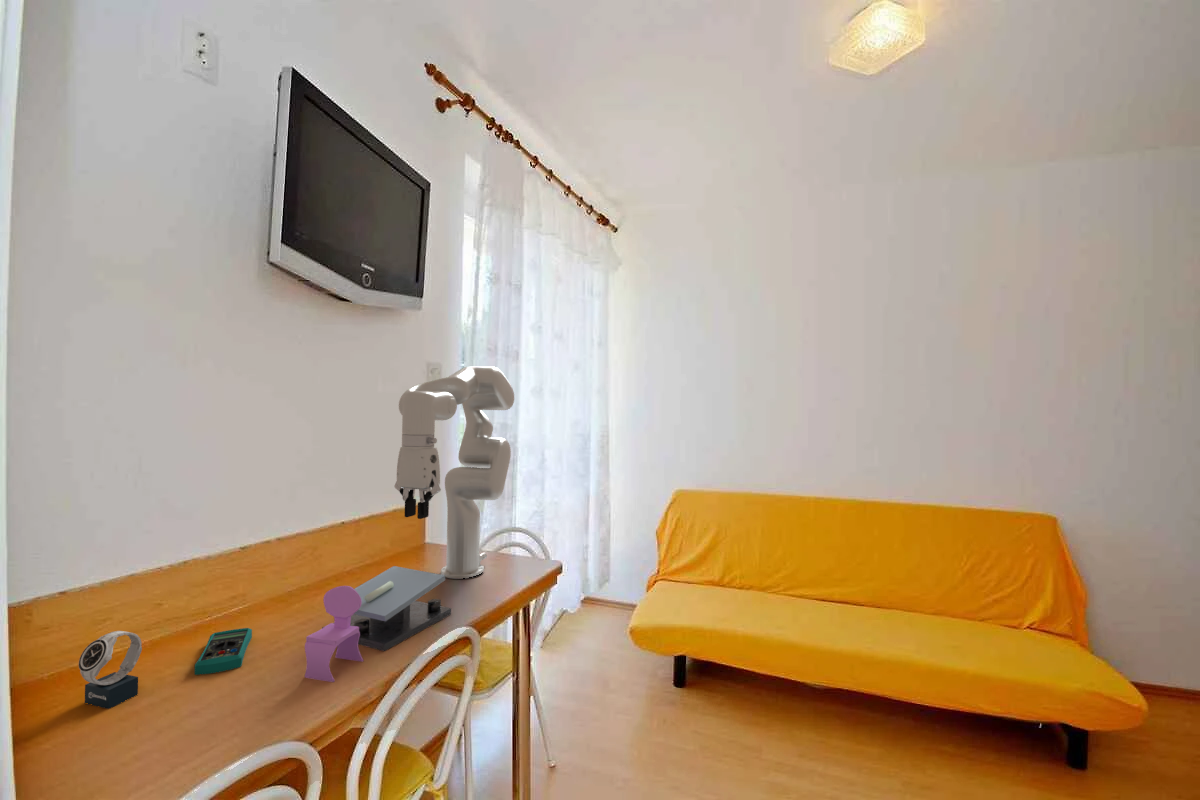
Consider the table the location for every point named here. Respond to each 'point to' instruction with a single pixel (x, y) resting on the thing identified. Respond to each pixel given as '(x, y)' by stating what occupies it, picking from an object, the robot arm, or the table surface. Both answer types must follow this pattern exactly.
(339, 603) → the toy chair
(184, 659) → the table surface
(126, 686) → the watch
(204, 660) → the digital multimeter
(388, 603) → the plate
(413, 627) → the leveling stand
